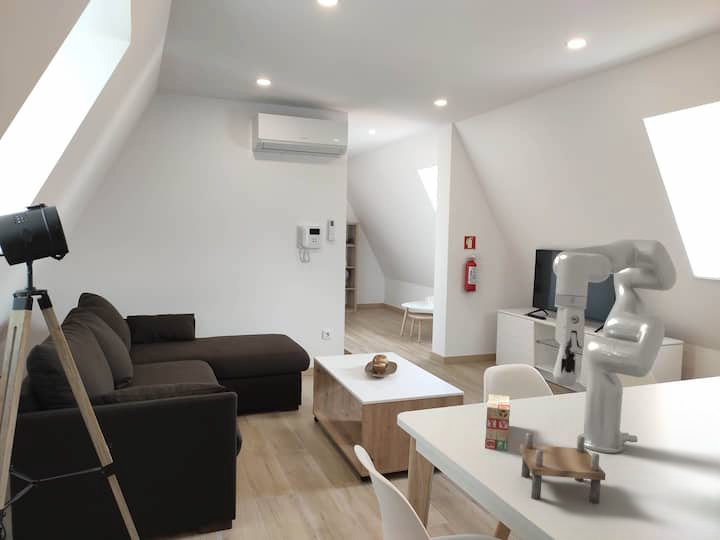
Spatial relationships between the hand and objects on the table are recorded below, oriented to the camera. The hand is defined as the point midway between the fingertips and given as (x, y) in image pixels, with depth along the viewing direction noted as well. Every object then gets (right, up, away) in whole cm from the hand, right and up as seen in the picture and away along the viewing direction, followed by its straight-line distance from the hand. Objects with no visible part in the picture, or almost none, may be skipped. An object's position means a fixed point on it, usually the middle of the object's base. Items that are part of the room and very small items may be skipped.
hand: (565, 372), depth 137 cm
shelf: (-5, -26, -9) cm, 28 cm away
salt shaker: (0, -3, 0) cm, 3 cm away
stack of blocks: (-12, -24, +23) cm, 35 cm away
